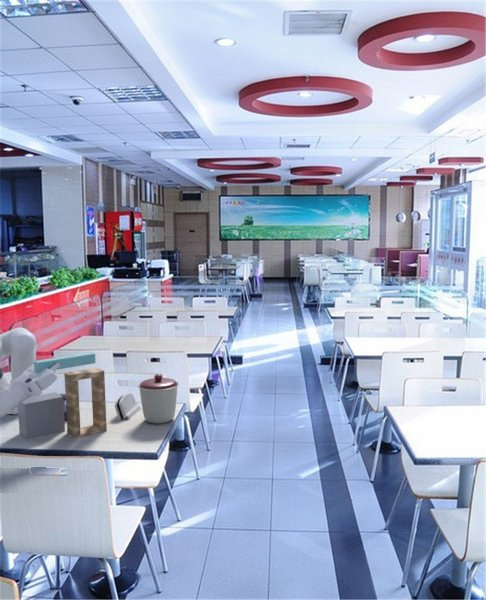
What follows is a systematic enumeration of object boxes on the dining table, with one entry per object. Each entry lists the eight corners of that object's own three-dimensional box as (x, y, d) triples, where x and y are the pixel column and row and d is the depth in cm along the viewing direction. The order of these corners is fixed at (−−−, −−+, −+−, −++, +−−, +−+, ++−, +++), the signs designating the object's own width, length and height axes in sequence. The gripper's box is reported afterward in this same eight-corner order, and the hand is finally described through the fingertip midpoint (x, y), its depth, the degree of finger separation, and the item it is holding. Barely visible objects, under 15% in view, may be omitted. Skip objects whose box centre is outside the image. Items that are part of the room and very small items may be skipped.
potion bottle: (71, 416, 254) (70, 390, 253) (73, 421, 246) (72, 395, 245) (52, 418, 251) (50, 392, 250) (53, 424, 243) (51, 398, 242)
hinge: (129, 419, 248) (121, 399, 248) (119, 423, 249) (111, 402, 248) (141, 408, 265) (133, 389, 264) (132, 411, 265) (125, 392, 265)
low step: (26, 439, 225) (24, 404, 223) (19, 434, 232) (17, 399, 230) (65, 430, 235) (63, 396, 233) (56, 425, 242) (55, 392, 240)
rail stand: (75, 438, 226) (72, 376, 223) (67, 433, 232) (64, 372, 229) (106, 430, 235) (104, 370, 232) (98, 425, 241) (95, 367, 238)
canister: (177, 426, 239) (176, 379, 236) (135, 427, 238) (134, 379, 236) (181, 413, 257) (180, 369, 254) (142, 413, 256) (141, 369, 254)
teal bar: (37, 372, 215) (37, 362, 215) (34, 371, 218) (33, 361, 218) (95, 363, 231) (95, 353, 230) (91, 361, 234) (90, 352, 233)
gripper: (22, 385, 224) (50, 364, 231) (40, 396, 209) (70, 373, 215) (13, 373, 222) (42, 352, 228) (31, 383, 206) (61, 360, 213)
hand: (56, 362), depth 222 cm, fingers closed on teal bar, 4 cm apart
